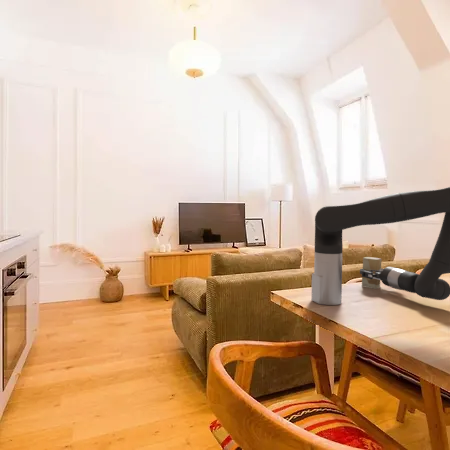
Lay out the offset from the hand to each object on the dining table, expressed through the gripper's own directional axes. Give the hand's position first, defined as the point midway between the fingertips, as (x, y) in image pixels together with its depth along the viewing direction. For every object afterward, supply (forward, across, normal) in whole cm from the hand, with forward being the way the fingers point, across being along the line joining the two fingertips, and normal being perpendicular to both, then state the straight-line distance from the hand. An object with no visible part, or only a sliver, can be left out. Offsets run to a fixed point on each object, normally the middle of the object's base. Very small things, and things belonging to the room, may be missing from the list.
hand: (369, 270), depth 143 cm
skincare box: (-1, 0, +7) cm, 7 cm away
